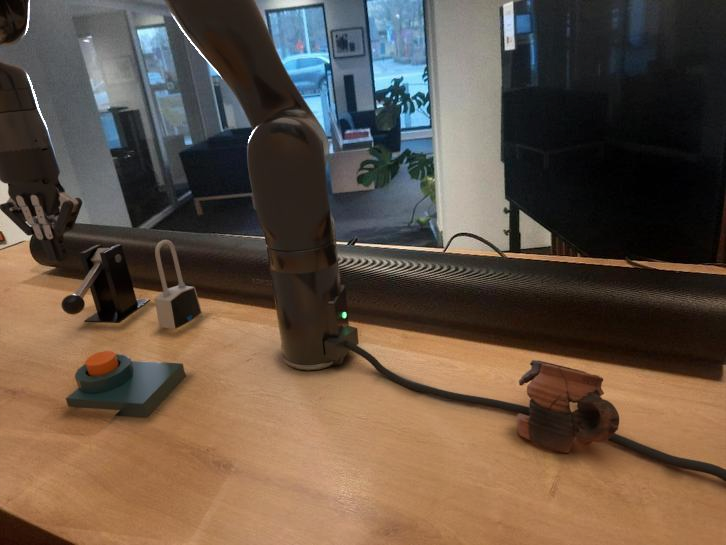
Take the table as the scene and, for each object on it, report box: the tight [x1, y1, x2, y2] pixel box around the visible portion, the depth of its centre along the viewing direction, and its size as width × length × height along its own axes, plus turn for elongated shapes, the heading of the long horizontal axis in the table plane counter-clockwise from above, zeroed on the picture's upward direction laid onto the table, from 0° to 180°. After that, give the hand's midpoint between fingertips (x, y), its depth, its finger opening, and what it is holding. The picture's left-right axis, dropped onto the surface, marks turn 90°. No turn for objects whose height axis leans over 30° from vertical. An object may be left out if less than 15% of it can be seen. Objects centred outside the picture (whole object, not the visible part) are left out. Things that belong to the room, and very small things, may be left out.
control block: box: [65, 353, 187, 419], centre depth 65 cm, size 12×9×4 cm
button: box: [84, 350, 119, 376], centre depth 64 cm, size 4×4×2 cm
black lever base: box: [78, 244, 151, 324], centre depth 87 cm, size 9×7×13 cm
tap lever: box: [61, 247, 110, 315], centre depth 82 cm, size 13×3×3 cm, turn 168°
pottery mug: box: [516, 359, 620, 454], centre depth 52 cm, size 12×10×8 cm
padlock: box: [154, 239, 203, 330], centre depth 81 cm, size 7×4×15 cm, turn 155°
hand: (59, 260), depth 76 cm, fingers closed
